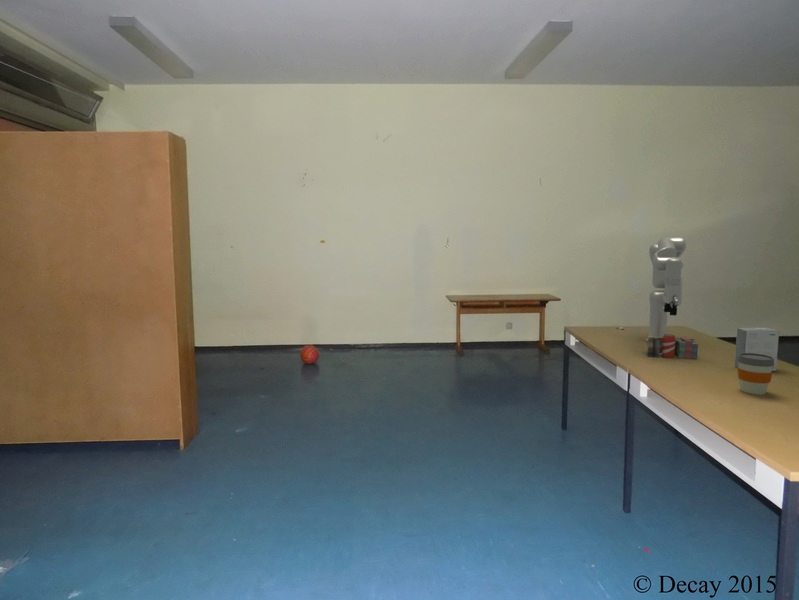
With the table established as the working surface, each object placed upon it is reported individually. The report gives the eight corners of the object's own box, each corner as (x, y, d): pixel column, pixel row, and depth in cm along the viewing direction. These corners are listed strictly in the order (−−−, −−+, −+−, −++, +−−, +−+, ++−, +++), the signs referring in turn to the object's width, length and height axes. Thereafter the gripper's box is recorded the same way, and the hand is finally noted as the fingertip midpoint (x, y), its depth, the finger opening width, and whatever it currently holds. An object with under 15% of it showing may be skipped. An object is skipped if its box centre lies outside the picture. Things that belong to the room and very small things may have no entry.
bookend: (642, 352, 281) (643, 337, 279) (653, 353, 279) (654, 337, 278) (647, 357, 271) (648, 340, 270) (659, 357, 270) (660, 341, 269)
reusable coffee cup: (756, 386, 218) (759, 352, 216) (779, 395, 205) (782, 359, 204) (728, 386, 217) (731, 353, 216) (749, 396, 205) (752, 360, 203)
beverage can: (659, 355, 275) (661, 333, 273) (672, 355, 274) (673, 334, 272) (663, 358, 269) (664, 335, 267) (676, 358, 268) (677, 336, 266)
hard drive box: (766, 367, 250) (770, 327, 247) (776, 371, 242) (780, 330, 240) (733, 366, 251) (737, 327, 249) (742, 370, 244) (745, 330, 241)
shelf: (646, 352, 282) (648, 335, 281) (691, 354, 277) (693, 337, 276) (652, 356, 271) (653, 339, 270) (699, 359, 267) (700, 341, 265)
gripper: (659, 280, 277) (657, 310, 279) (669, 283, 260) (667, 316, 263) (674, 280, 275) (672, 311, 278) (685, 284, 259) (683, 316, 261)
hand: (670, 313), depth 270 cm, fingers open, 9 cm apart
